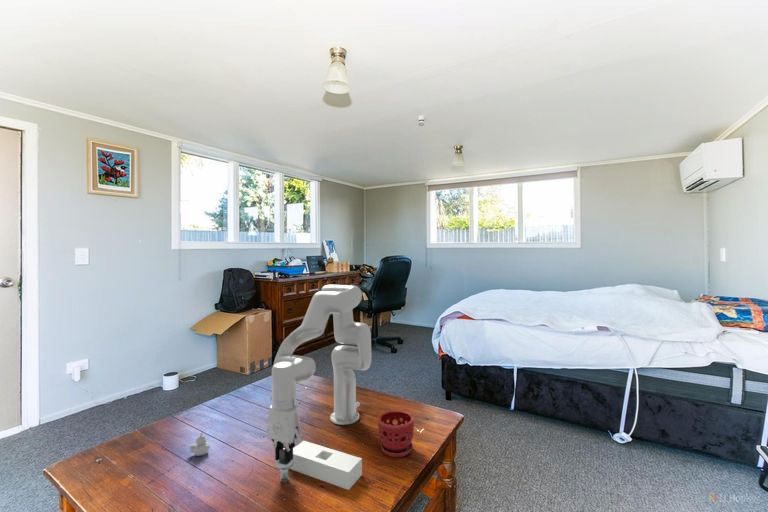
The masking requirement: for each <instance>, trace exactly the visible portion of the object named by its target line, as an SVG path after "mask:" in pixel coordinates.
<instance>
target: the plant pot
mask: <svg viewBox="0 0 768 512" xmlns="http://www.w3.org/2000/svg"><path fill="white" fill-rule="evenodd" d="M400 419H402V420H400ZM414 419H415V418H414V416H413V415H412V414H411V413H409V412H406V411H402V410H390V411H386V412H383V413H382V414H380V415H379V416H378V418H377V425H378V427H377V428H378V435H379V439H380V441H381V445H380V448H381V451H382V452H383V453H384V454H385V455H387V456H389V457H392V458H400V457H405V456H407V455H409V454H410V453H411V451H412V450H413V446H414V445H413V443H412V441H413V436H414V428H415V427H414V426H415V424H414V423H415V422H414ZM394 420H396V421H397V423H396V424H394V423H393V421H394Z"/></svg>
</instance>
